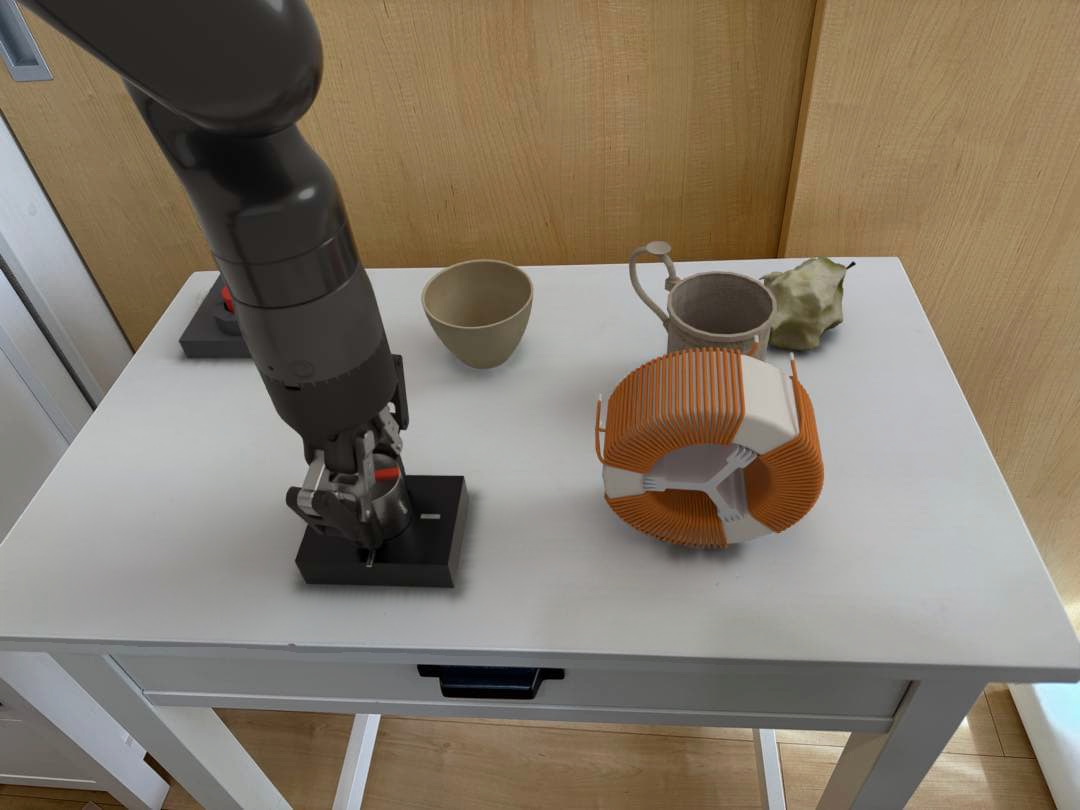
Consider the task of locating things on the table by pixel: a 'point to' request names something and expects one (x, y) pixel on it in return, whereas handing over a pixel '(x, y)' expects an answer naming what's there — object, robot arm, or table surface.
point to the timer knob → (388, 496)
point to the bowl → (479, 310)
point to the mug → (710, 308)
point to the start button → (227, 299)
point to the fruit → (806, 302)
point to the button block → (214, 329)
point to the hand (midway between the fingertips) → (381, 514)
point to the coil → (710, 448)
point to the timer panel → (398, 543)
